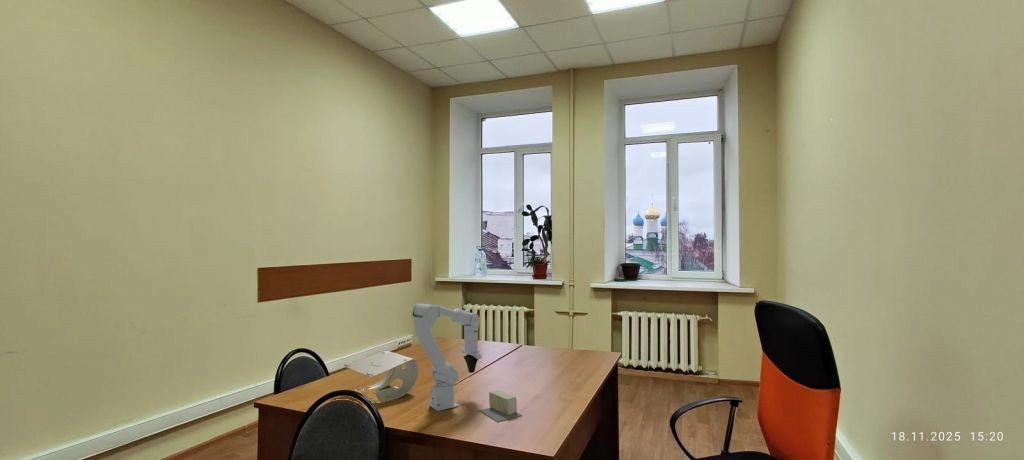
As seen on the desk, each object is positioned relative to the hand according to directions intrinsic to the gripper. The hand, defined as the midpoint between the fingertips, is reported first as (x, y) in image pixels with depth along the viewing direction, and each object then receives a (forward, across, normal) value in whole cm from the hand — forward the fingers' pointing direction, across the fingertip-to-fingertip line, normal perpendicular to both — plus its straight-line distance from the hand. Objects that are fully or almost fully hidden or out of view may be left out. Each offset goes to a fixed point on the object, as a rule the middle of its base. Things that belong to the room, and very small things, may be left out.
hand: (471, 372), depth 199 cm
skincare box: (+7, -16, -1) cm, 18 cm away
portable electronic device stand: (+10, +28, +31) cm, 43 cm away
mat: (+10, -24, 0) cm, 26 cm away
